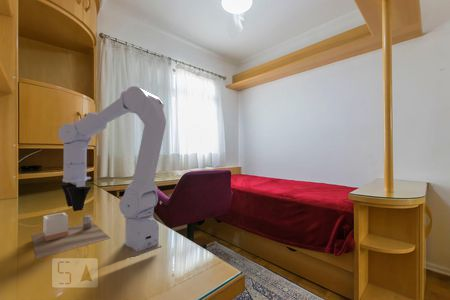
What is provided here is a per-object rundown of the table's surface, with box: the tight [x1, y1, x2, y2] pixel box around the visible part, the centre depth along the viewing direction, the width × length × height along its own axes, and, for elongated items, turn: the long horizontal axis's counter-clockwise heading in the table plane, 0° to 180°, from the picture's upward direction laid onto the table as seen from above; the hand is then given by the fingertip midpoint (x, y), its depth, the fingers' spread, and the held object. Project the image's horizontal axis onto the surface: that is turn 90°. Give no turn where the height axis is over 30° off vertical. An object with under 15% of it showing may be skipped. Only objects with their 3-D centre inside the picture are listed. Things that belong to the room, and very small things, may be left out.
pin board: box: [31, 214, 111, 260], centre depth 60 cm, size 20×16×5 cm
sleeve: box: [42, 212, 69, 241], centre depth 60 cm, size 5×5×6 cm
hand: (74, 208), depth 62 cm, fingers open, 7 cm apart
